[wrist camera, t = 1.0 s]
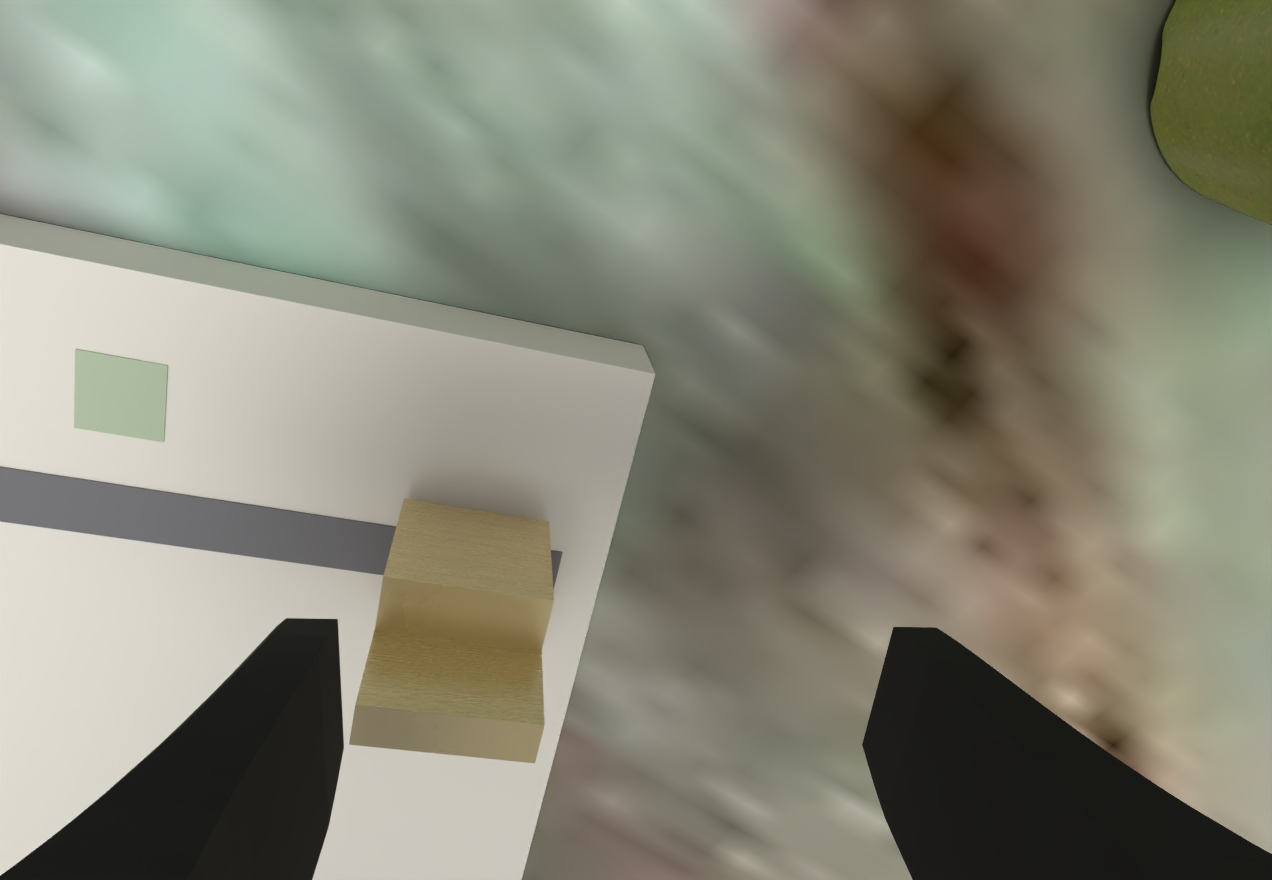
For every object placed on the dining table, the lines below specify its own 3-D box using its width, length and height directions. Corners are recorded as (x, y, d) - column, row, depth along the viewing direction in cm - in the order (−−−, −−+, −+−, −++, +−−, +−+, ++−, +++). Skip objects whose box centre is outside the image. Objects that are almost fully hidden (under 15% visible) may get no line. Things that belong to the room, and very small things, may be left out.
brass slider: (521, 638, 19) (522, 813, 15) (384, 620, 19) (340, 797, 14) (549, 521, 18) (558, 670, 14) (404, 498, 18) (364, 646, 13)
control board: (496, 914, 26) (494, 1014, 23) (-489, 850, 21) (-640, 967, 18) (642, 345, 20) (662, 390, 17) (-720, 66, 15) (-1000, 66, 12)
